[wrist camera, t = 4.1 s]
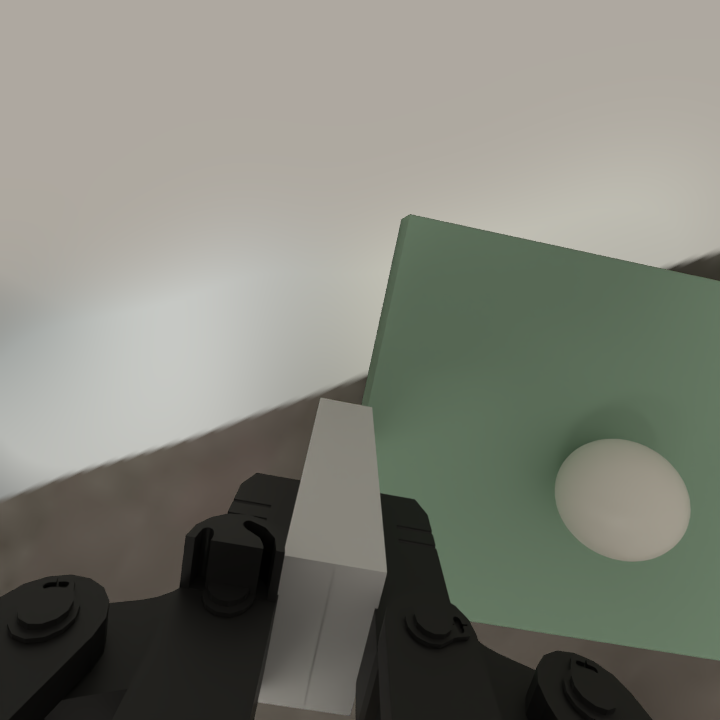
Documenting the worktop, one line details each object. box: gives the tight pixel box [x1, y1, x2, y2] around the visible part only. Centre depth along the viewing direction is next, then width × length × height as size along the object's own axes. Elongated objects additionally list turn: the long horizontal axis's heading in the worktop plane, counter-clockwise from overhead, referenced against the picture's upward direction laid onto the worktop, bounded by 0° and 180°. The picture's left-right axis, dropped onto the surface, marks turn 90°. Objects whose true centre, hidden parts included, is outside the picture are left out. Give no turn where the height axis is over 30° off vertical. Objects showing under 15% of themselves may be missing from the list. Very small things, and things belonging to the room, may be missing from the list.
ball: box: [555, 439, 691, 562], centre depth 14 cm, size 4×4×4 cm
